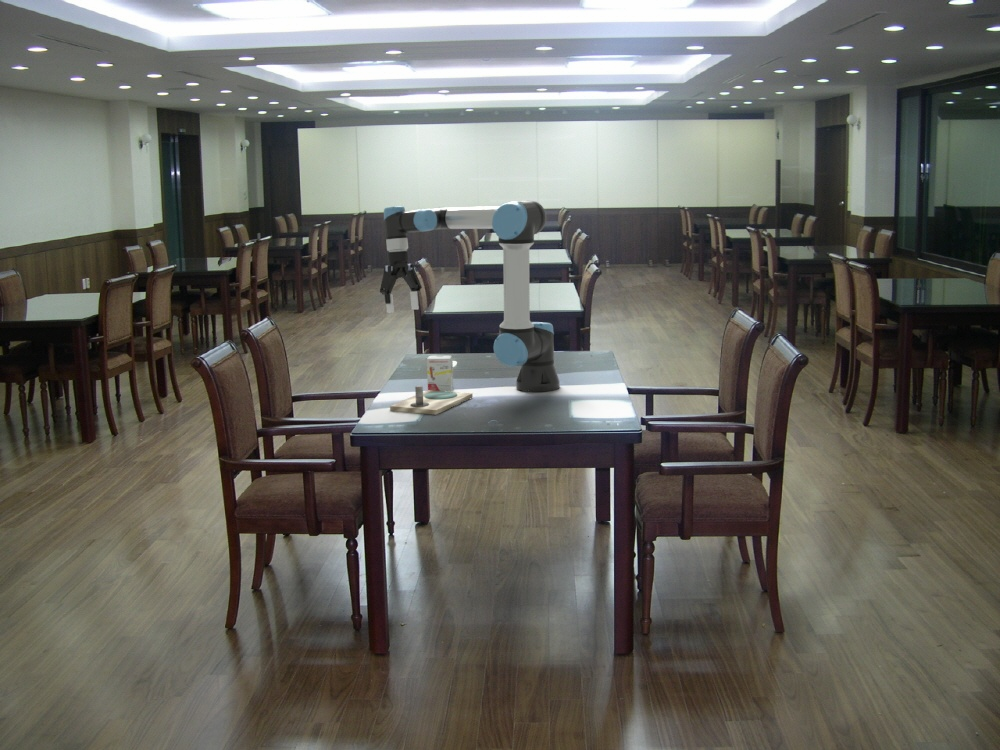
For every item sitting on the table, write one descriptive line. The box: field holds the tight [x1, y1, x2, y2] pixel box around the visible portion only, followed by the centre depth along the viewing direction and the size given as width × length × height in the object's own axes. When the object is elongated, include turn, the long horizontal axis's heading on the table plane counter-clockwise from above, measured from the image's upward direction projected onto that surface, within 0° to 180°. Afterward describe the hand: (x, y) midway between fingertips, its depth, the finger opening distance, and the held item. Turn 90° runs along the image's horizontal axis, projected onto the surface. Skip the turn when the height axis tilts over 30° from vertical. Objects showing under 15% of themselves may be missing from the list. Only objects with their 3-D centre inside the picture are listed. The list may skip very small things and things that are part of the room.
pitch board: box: [389, 385, 474, 415], centre depth 346 cm, size 17×25×8 cm
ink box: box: [426, 355, 454, 392], centre depth 366 cm, size 9×5×12 cm, turn 84°
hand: (403, 311), depth 371 cm, fingers open, 13 cm apart
